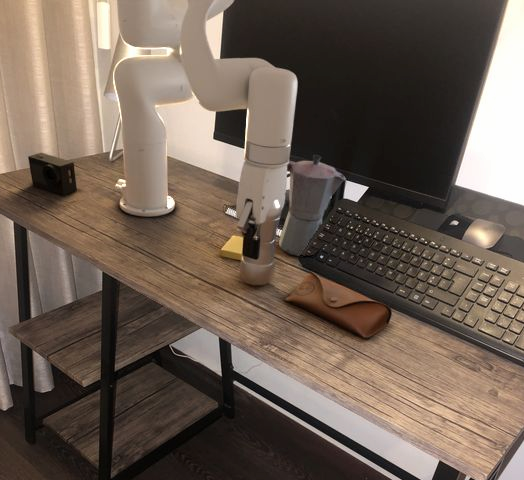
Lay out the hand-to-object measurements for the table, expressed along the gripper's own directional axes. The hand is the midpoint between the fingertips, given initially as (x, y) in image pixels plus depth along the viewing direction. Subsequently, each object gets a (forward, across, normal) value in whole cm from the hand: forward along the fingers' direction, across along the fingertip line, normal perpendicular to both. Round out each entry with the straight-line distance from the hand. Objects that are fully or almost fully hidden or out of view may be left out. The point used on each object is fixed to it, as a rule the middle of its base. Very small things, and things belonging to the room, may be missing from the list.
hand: (258, 250), depth 102 cm
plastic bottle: (+7, 0, 0) cm, 7 cm away
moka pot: (+7, -18, 0) cm, 19 cm away
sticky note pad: (+6, -9, -8) cm, 14 cm away
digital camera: (+7, -9, -62) cm, 63 cm away
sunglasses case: (+7, +1, +17) cm, 18 cm away
